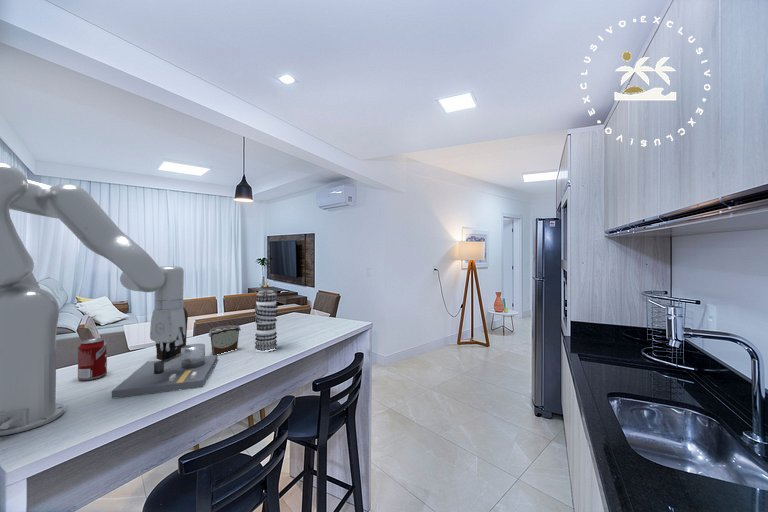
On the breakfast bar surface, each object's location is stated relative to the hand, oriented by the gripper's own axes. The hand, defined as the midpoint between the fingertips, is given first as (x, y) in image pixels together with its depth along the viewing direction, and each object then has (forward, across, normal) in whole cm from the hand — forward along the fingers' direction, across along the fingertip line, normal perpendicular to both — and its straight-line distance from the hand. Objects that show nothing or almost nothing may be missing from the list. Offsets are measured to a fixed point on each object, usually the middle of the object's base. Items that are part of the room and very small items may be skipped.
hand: (168, 362), depth 97 cm
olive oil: (+6, -22, +17) cm, 28 cm away
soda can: (+6, -24, -7) cm, 26 cm away
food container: (+6, -7, +27) cm, 29 cm away
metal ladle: (+3, +3, +2) cm, 4 cm away
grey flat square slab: (+5, -1, +2) cm, 6 cm away
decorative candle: (+5, +8, +36) cm, 37 cm away
